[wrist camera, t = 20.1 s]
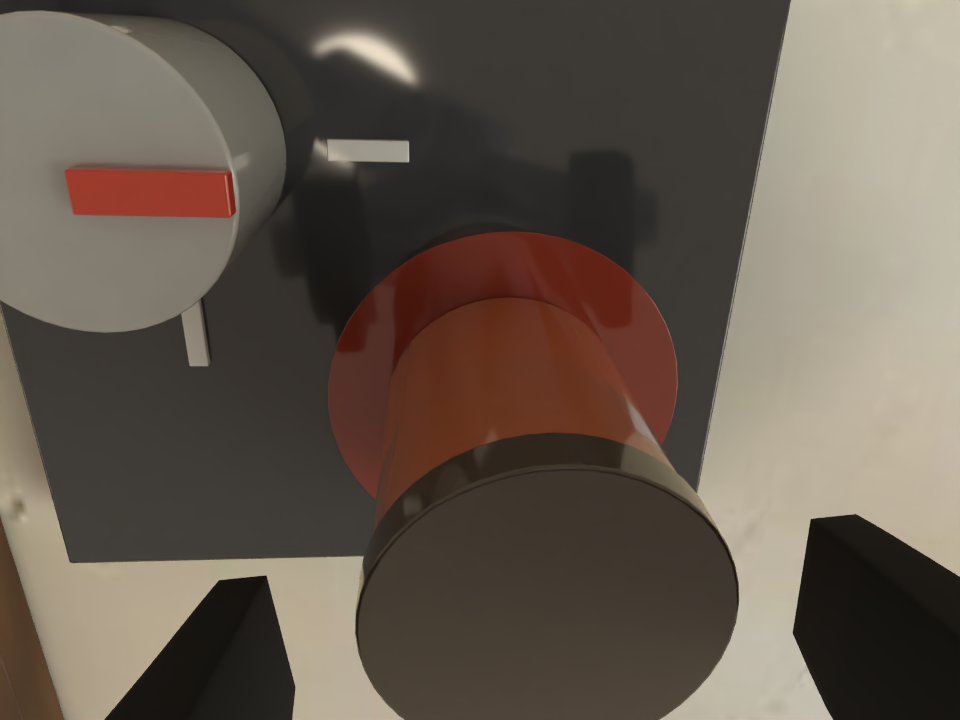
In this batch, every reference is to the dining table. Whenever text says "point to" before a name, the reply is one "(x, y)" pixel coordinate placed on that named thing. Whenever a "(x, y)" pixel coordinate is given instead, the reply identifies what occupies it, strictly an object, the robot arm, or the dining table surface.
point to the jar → (533, 534)
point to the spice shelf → (21, 652)
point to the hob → (402, 242)
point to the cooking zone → (480, 276)
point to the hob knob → (126, 166)
